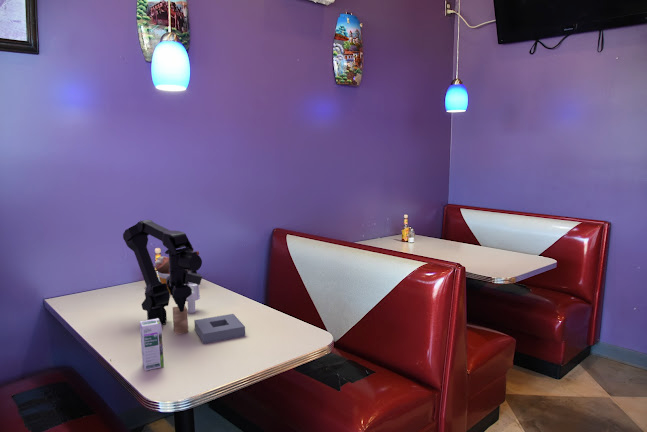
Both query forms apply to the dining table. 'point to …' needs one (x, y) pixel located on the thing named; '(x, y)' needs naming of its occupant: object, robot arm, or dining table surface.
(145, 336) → the syrup box
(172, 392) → the dining table surface
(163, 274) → the bucket of meat
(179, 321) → the oak peg
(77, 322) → the dining table surface
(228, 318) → the socket block
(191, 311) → the windowed cylinder housing
